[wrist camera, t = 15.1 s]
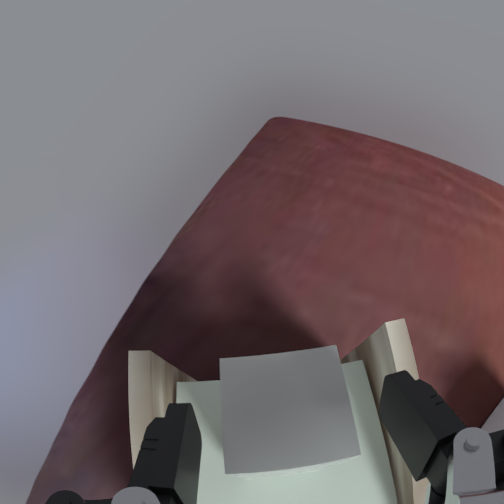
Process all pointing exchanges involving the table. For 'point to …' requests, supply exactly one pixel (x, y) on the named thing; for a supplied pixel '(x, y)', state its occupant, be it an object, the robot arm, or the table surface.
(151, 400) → the storage box
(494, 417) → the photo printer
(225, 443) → the smooth white block
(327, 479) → the trapdoor
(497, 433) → the robot arm
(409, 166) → the table surface
